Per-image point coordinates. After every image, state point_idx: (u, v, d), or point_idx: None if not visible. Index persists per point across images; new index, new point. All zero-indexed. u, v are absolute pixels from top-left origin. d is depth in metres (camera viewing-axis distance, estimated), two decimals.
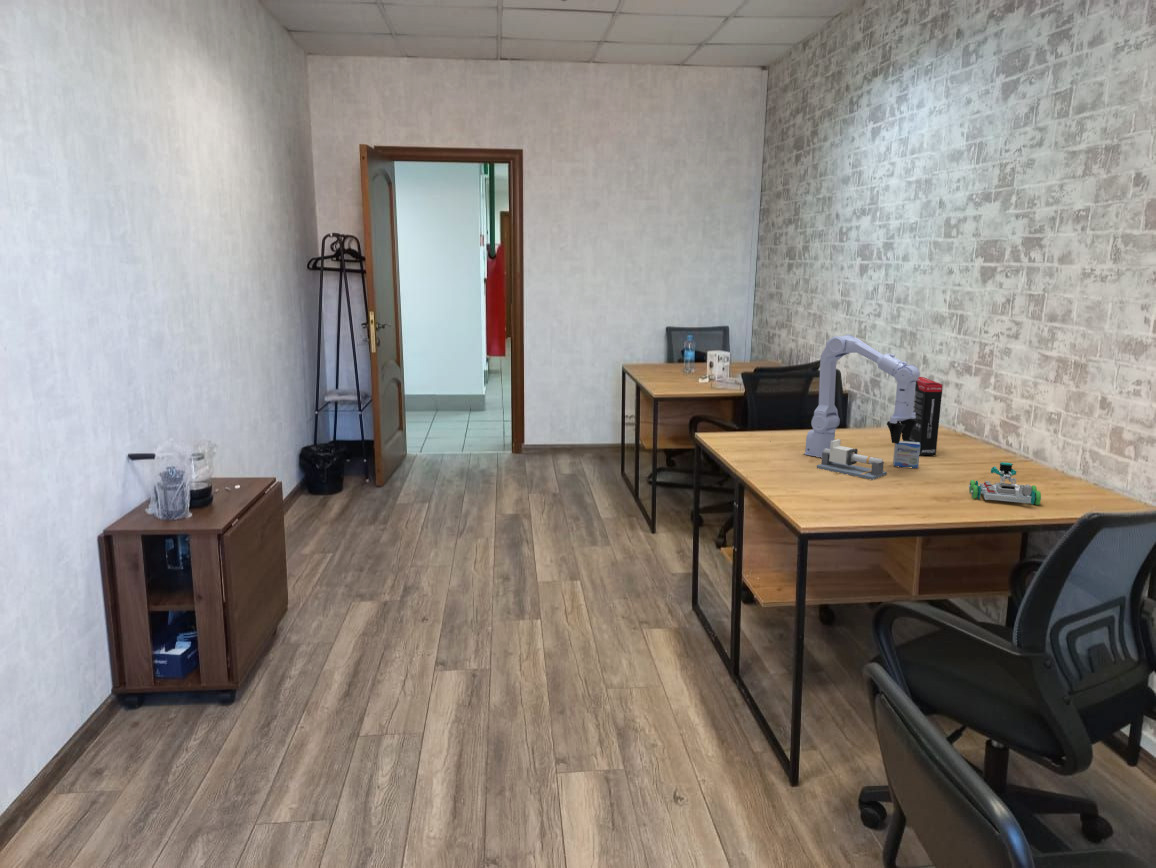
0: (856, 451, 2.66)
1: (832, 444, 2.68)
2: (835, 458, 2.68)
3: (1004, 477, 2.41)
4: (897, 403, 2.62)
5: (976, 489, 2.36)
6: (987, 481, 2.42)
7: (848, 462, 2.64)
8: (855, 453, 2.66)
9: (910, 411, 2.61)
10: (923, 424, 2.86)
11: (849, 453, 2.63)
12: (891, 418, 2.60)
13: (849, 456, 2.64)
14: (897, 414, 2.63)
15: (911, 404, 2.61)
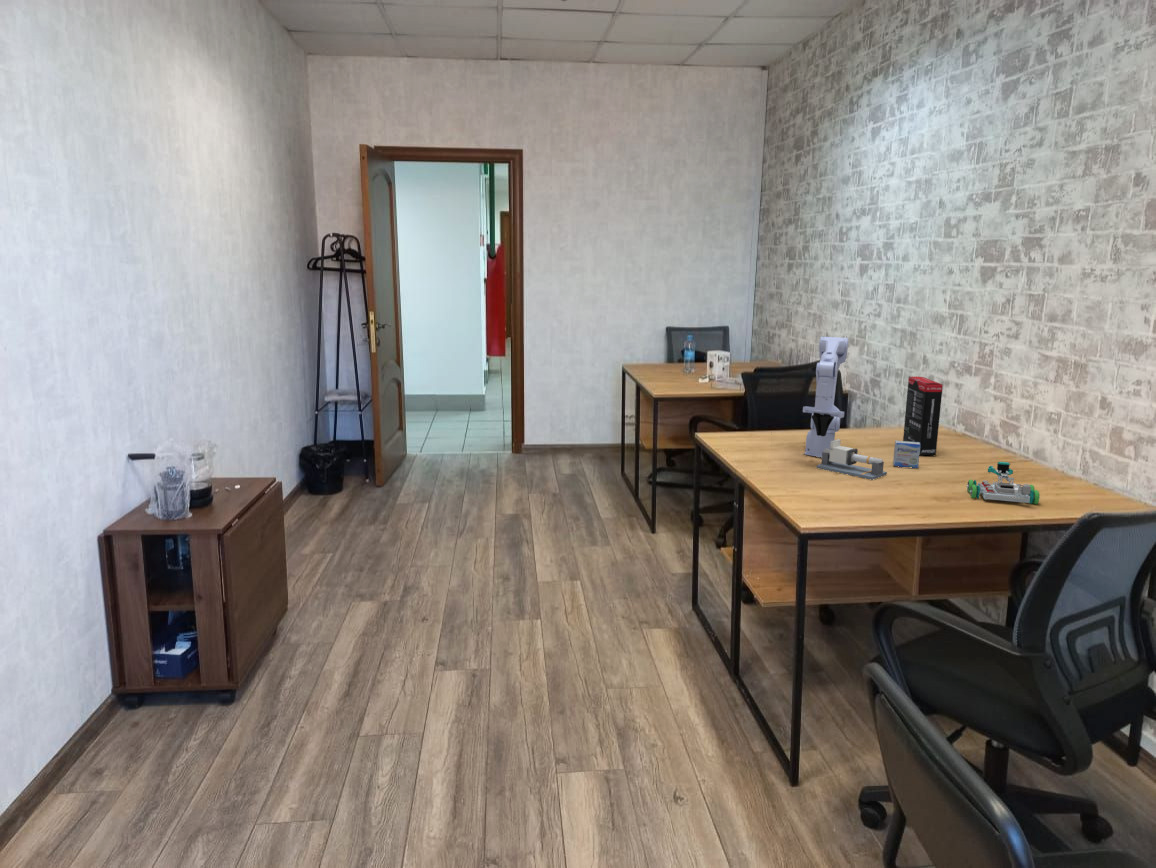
0: (856, 451, 2.66)
1: (832, 444, 2.68)
2: (835, 458, 2.68)
3: (1002, 476, 2.42)
4: None
5: (975, 489, 2.36)
6: (985, 481, 2.42)
7: (848, 462, 2.64)
8: (855, 453, 2.66)
9: (817, 405, 2.69)
10: (923, 424, 2.86)
11: (849, 453, 2.63)
12: None
13: (849, 456, 2.64)
14: None
15: (818, 398, 2.69)
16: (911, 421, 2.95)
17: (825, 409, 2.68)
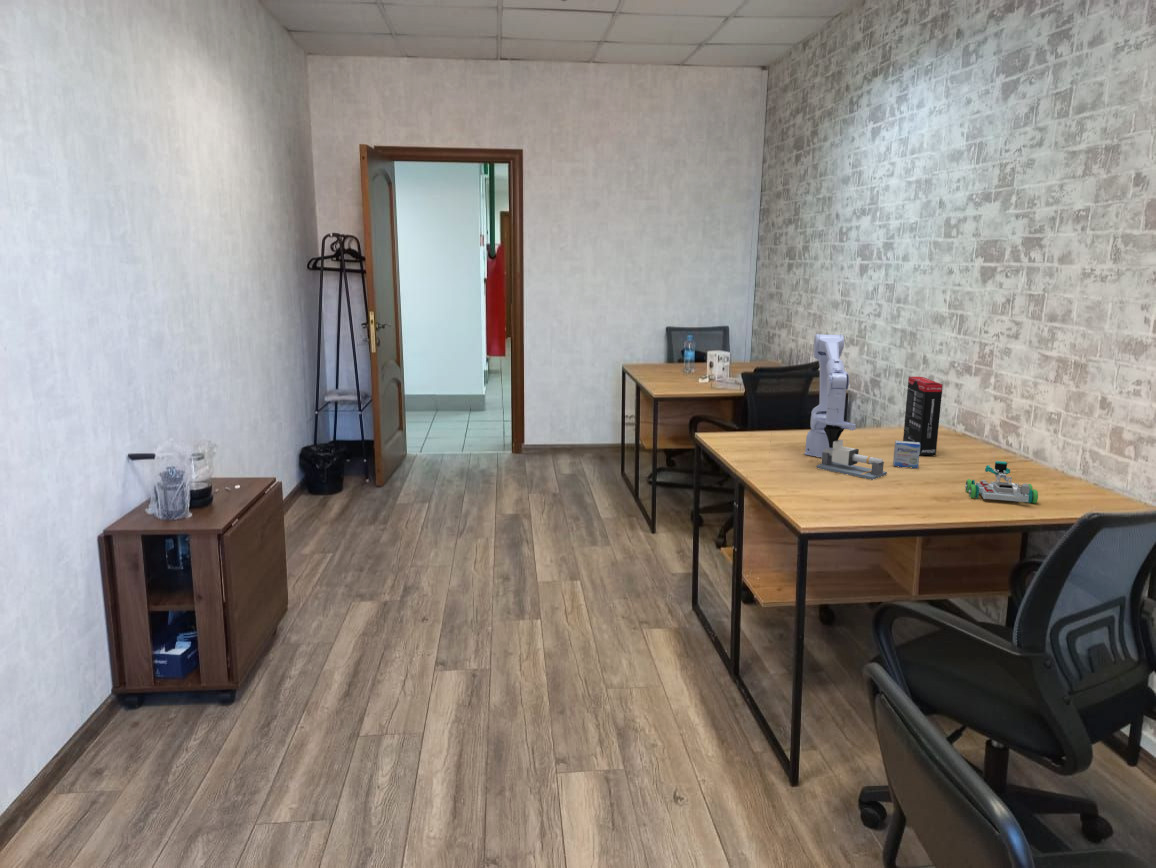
0: (857, 451, 2.66)
1: (834, 444, 2.67)
2: (837, 458, 2.67)
3: (1000, 476, 2.43)
4: None
5: (974, 488, 2.36)
6: (983, 480, 2.42)
7: (849, 462, 2.64)
8: (856, 453, 2.66)
9: (828, 417, 2.67)
10: (923, 424, 2.86)
11: (850, 453, 2.63)
12: None
13: (850, 456, 2.63)
14: None
15: (829, 410, 2.66)
16: (911, 421, 2.95)
17: (836, 421, 2.66)
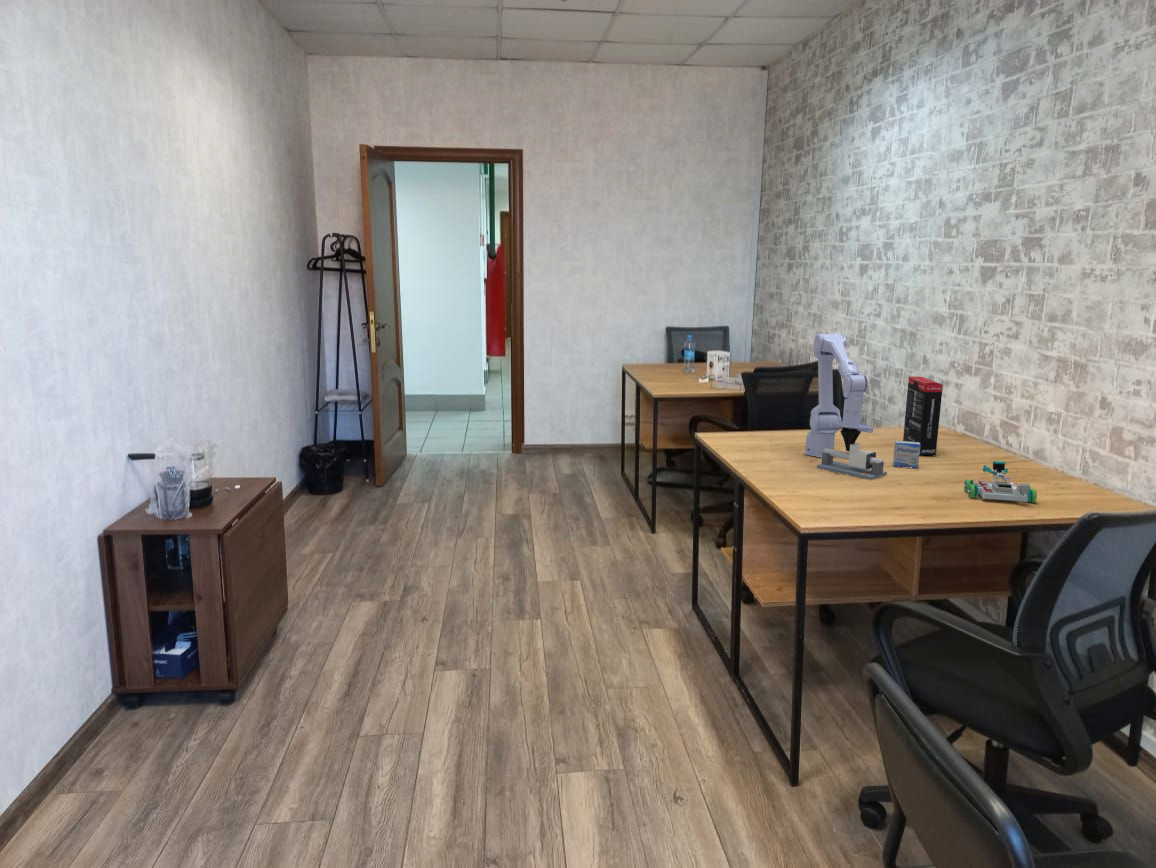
0: (875, 455, 2.62)
1: (851, 448, 2.63)
2: (854, 462, 2.63)
3: (998, 476, 2.43)
4: None
5: (973, 488, 2.37)
6: (982, 480, 2.43)
7: (867, 466, 2.59)
8: None
9: (845, 419, 2.63)
10: (923, 424, 2.86)
11: (868, 457, 2.59)
12: None
13: (868, 460, 2.59)
14: None
15: (846, 412, 2.62)
16: (911, 421, 2.95)
17: (853, 424, 2.61)
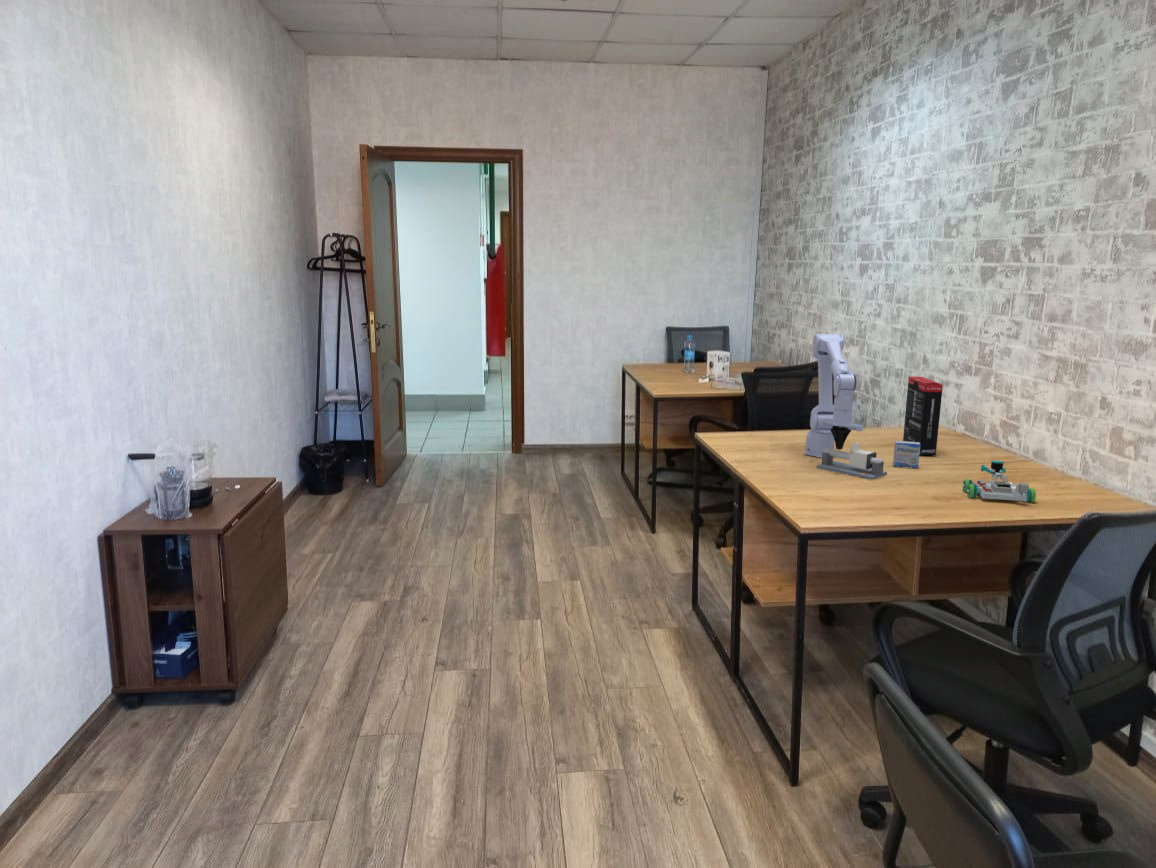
0: (875, 455, 2.61)
1: (852, 448, 2.63)
2: (855, 462, 2.62)
3: (996, 475, 2.43)
4: None
5: (973, 488, 2.37)
6: (981, 480, 2.43)
7: (867, 466, 2.59)
8: (874, 457, 2.62)
9: (835, 418, 2.65)
10: (923, 424, 2.86)
11: (868, 457, 2.59)
12: None
13: (868, 460, 2.59)
14: None
15: (836, 411, 2.65)
16: (911, 421, 2.95)
17: (843, 422, 2.64)
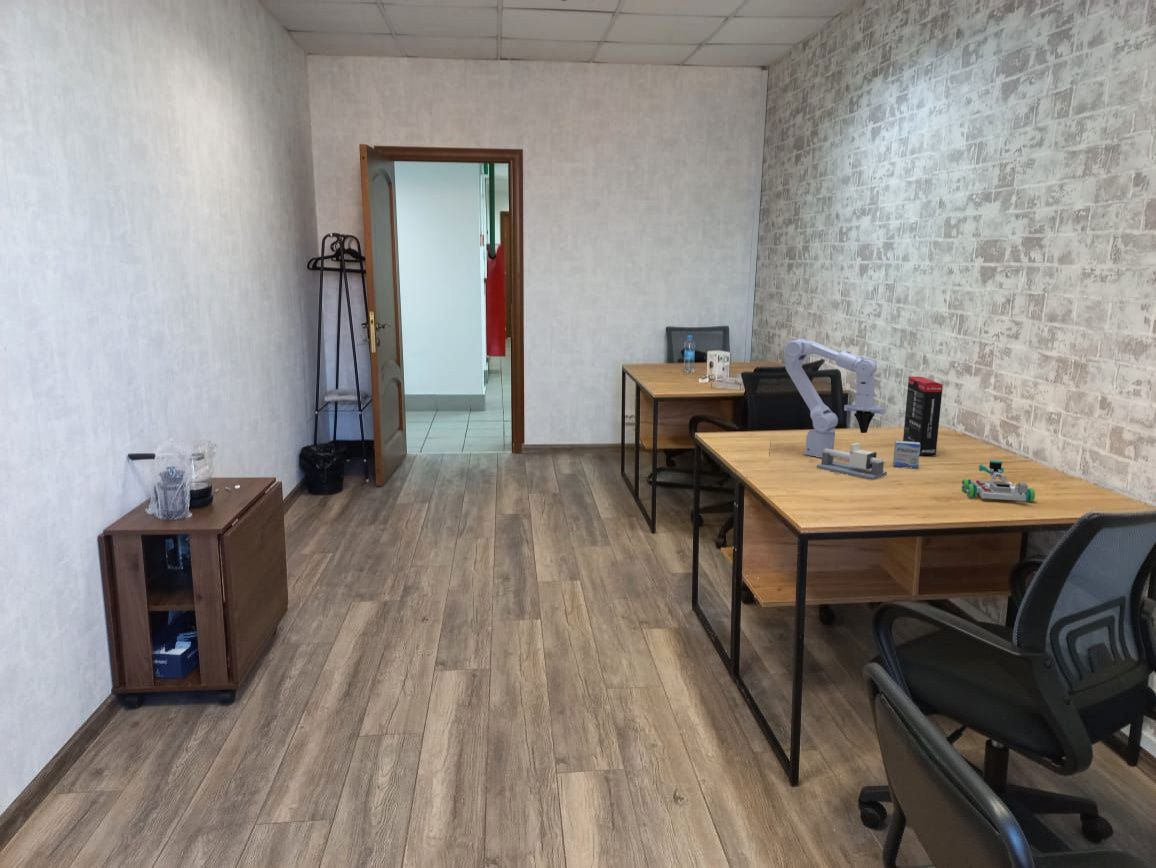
0: (875, 455, 2.61)
1: (852, 448, 2.63)
2: (855, 462, 2.62)
3: (995, 475, 2.44)
4: None
5: (972, 488, 2.37)
6: (980, 479, 2.43)
7: (867, 466, 2.59)
8: (874, 457, 2.62)
9: (858, 402, 2.75)
10: (923, 424, 2.86)
11: (868, 457, 2.59)
12: None
13: (868, 460, 2.59)
14: None
15: (859, 396, 2.74)
16: (911, 421, 2.95)
17: (866, 406, 2.74)
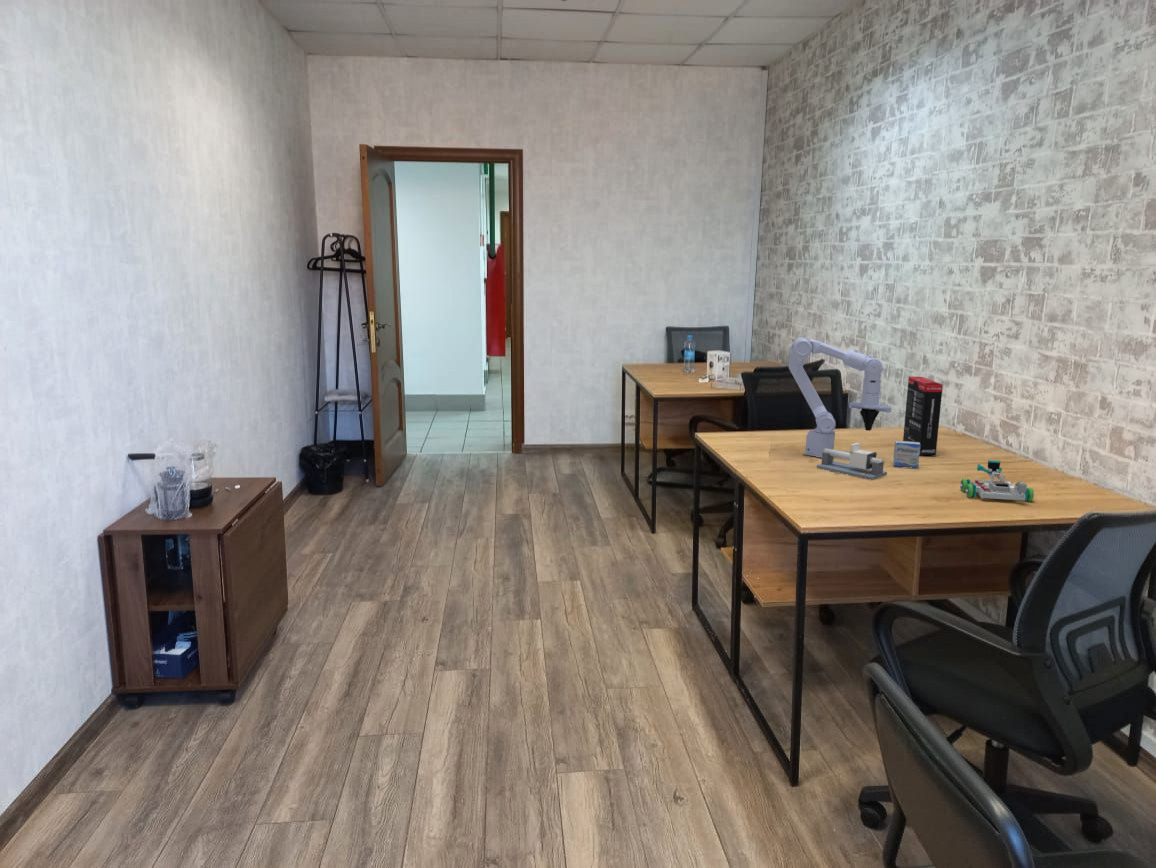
0: (875, 455, 2.61)
1: (852, 448, 2.63)
2: (855, 462, 2.62)
3: (994, 475, 2.44)
4: None
5: (972, 488, 2.37)
6: (978, 479, 2.43)
7: (867, 466, 2.59)
8: (874, 457, 2.62)
9: (864, 401, 2.79)
10: (923, 424, 2.86)
11: (868, 457, 2.59)
12: None
13: (868, 460, 2.59)
14: None
15: (865, 394, 2.79)
16: (911, 421, 2.95)
17: (873, 404, 2.78)
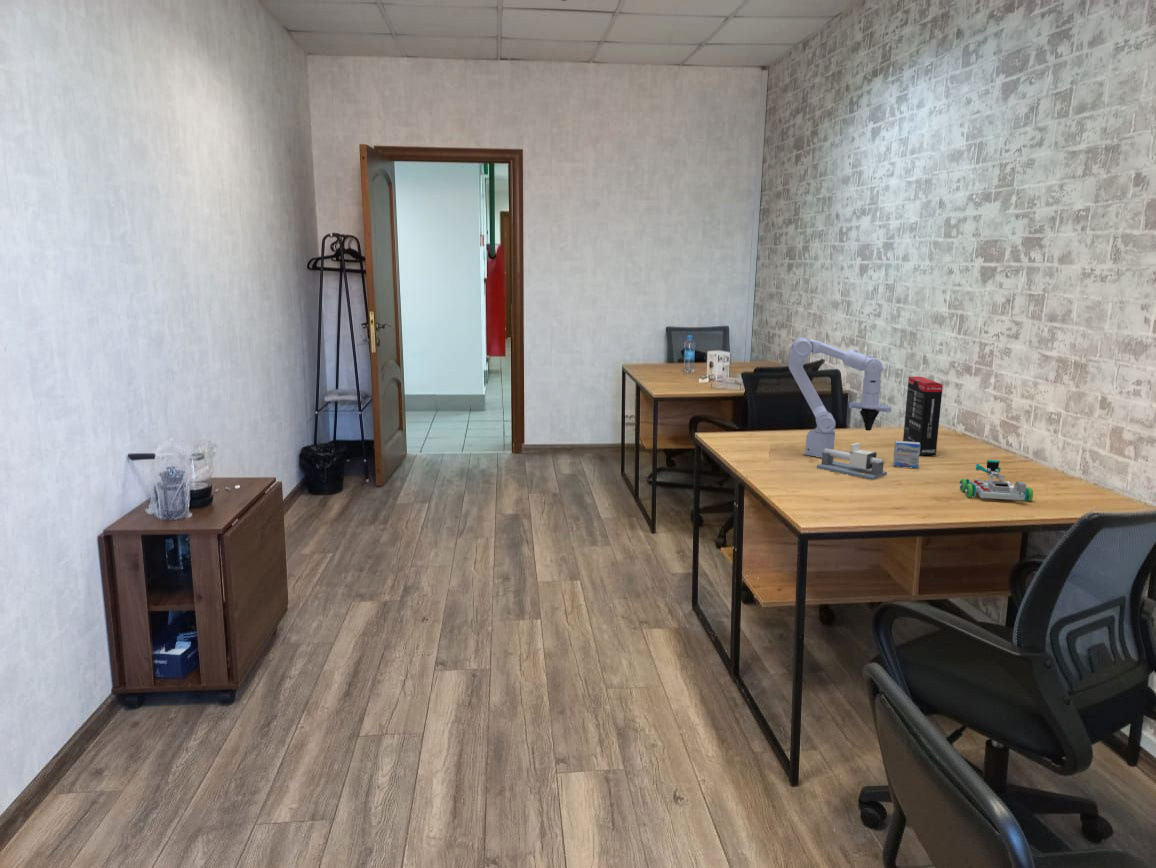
0: (875, 455, 2.61)
1: (852, 448, 2.63)
2: (855, 462, 2.62)
3: (993, 474, 2.44)
4: None
5: (971, 488, 2.37)
6: (978, 479, 2.44)
7: (867, 466, 2.59)
8: (874, 457, 2.62)
9: (864, 401, 2.79)
10: (923, 424, 2.86)
11: (868, 457, 2.59)
12: None
13: (868, 460, 2.59)
14: None
15: (865, 394, 2.79)
16: (911, 421, 2.95)
17: (873, 404, 2.78)
